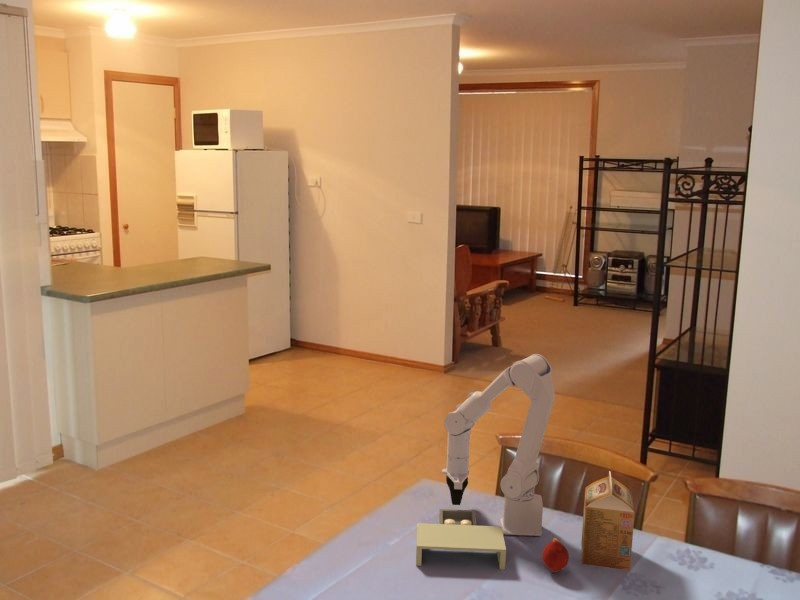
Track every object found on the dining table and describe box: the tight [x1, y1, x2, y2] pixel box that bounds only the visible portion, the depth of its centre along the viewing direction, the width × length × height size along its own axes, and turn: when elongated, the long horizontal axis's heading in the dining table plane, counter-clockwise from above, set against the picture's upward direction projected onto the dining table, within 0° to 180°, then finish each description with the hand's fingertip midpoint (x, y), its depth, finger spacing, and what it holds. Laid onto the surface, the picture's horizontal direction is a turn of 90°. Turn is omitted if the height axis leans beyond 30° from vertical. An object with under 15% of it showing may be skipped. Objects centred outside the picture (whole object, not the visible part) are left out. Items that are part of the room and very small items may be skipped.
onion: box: [541, 537, 570, 573], centre depth 171 cm, size 6×6×8 cm
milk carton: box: [581, 470, 636, 571], centre depth 177 cm, size 11×11×19 cm
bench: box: [415, 522, 507, 570], centre depth 177 cm, size 20×11×5 cm, turn 88°
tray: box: [438, 508, 477, 526], centre depth 191 cm, size 9×11×3 cm
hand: (456, 503), depth 201 cm, fingers closed
